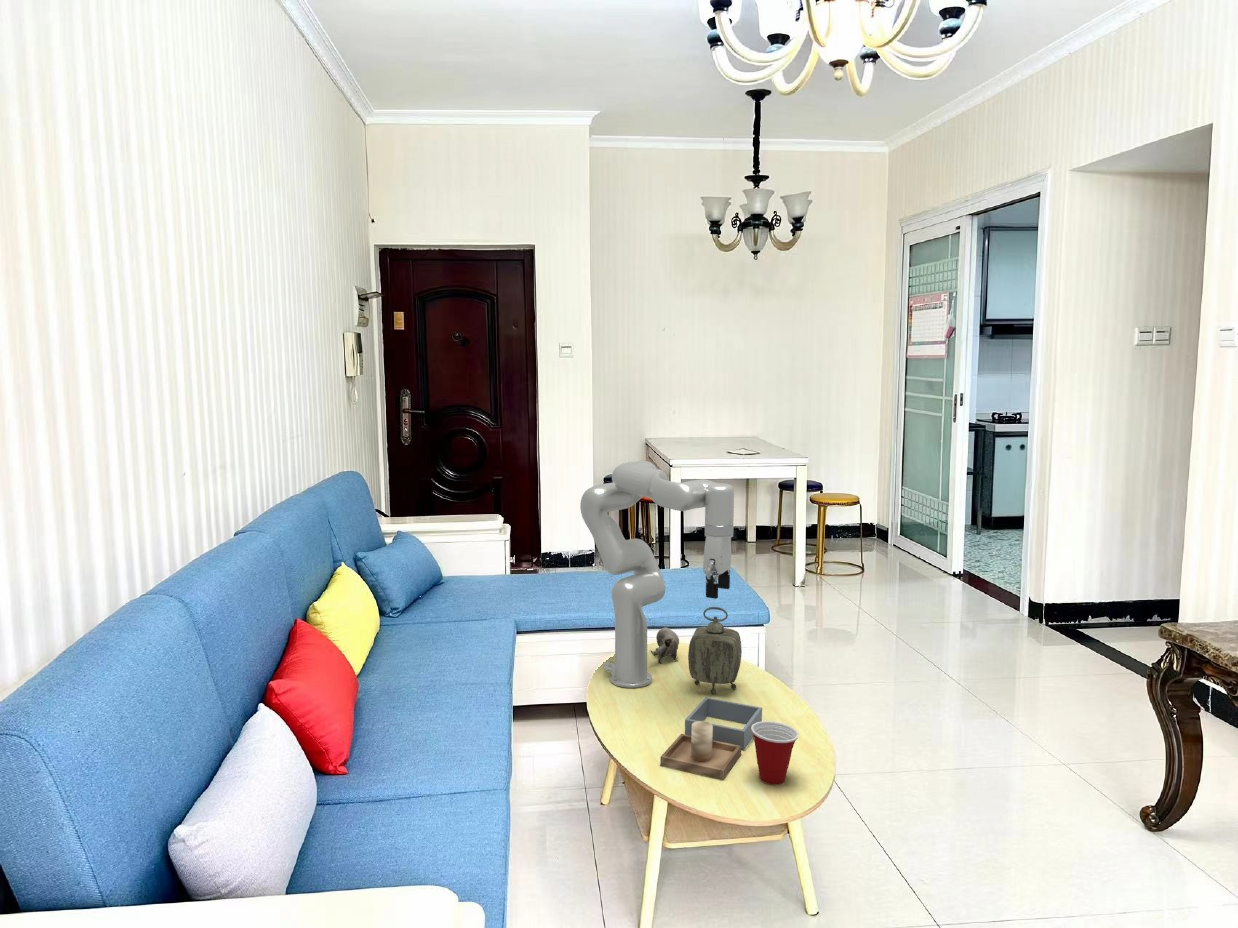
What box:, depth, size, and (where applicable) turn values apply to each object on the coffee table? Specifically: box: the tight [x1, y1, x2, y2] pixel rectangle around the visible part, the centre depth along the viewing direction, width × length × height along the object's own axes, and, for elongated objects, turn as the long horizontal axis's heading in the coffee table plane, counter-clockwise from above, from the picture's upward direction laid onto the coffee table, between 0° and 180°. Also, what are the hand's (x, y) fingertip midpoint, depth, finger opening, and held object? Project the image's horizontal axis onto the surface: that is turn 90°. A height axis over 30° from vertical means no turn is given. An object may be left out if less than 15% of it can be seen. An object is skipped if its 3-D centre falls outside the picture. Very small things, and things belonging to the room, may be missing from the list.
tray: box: [659, 733, 742, 781], centre depth 205 cm, size 16×14×2 cm
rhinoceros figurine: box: [650, 626, 680, 665], centre depth 272 cm, size 8×14×15 cm
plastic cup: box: [751, 720, 800, 786], centre depth 196 cm, size 11×11×12 cm
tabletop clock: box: [687, 606, 742, 695], centre depth 245 cm, size 14×9×25 cm, turn 76°
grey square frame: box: [684, 697, 763, 752], centre depth 220 cm, size 16×16×5 cm
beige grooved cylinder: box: [691, 720, 713, 762], centre depth 205 cm, size 5×5×8 cm
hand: (717, 593), depth 228 cm, fingers open, 9 cm apart
